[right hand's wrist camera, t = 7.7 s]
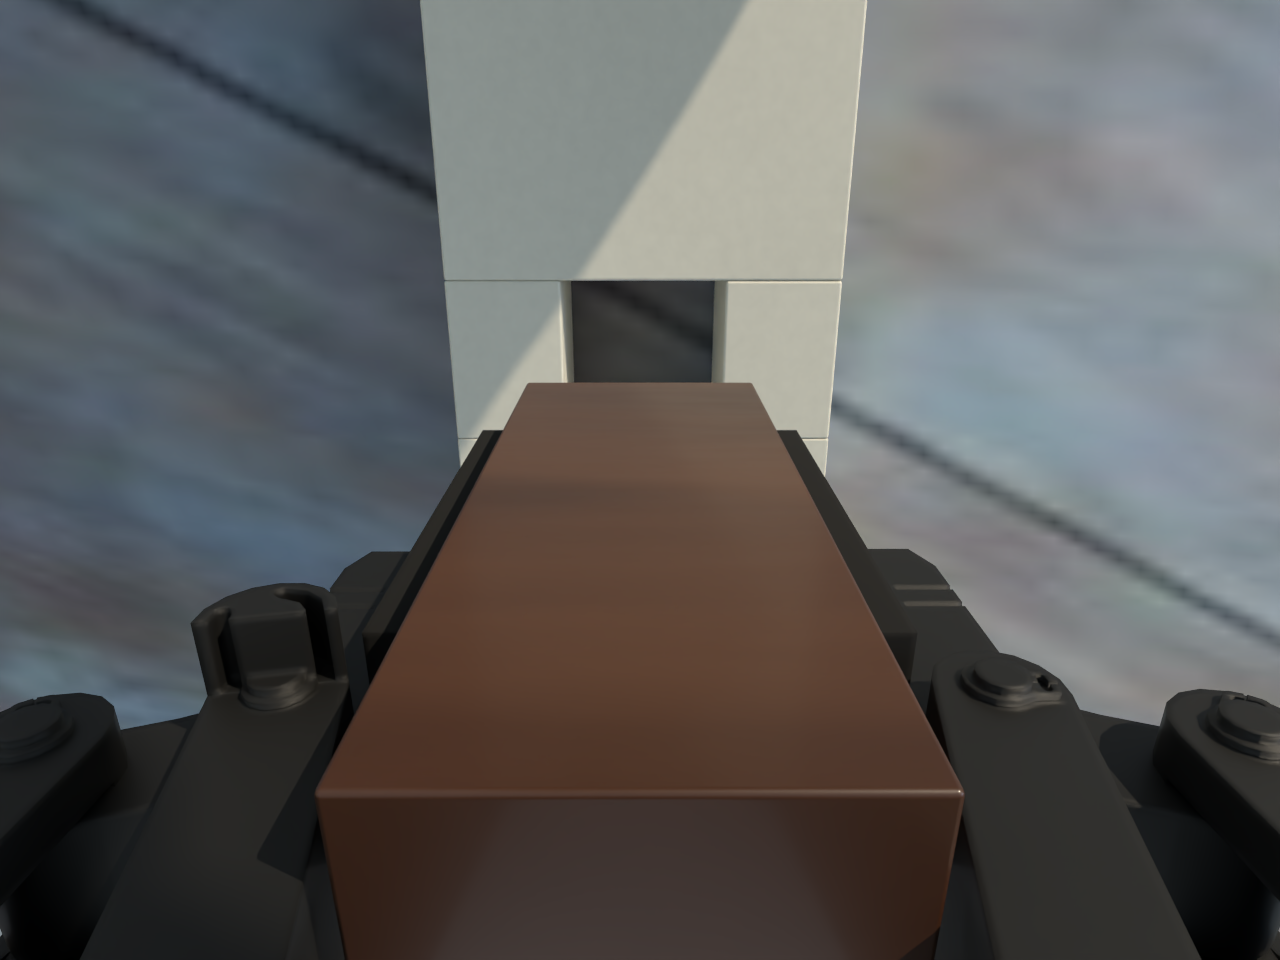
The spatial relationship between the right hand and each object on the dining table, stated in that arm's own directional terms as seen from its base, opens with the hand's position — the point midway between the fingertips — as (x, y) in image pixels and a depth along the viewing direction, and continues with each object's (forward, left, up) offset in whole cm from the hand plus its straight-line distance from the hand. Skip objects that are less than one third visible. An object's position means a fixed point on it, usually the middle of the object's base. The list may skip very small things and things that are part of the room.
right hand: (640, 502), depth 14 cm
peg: (0, 0, -1) cm, 1 cm away
